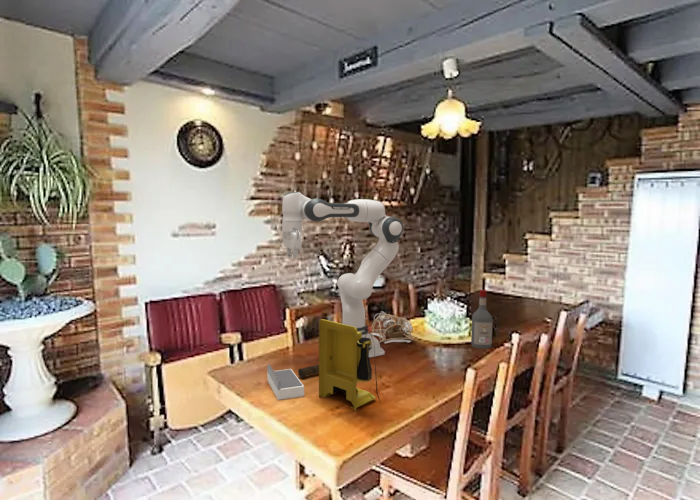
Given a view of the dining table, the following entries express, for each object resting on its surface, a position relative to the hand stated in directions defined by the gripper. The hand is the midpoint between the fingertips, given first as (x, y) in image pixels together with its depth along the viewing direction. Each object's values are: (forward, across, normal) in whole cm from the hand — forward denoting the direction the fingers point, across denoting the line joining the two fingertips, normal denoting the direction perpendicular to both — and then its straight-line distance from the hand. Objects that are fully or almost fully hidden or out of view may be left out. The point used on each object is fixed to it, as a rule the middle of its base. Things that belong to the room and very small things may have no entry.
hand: (292, 258), depth 200 cm
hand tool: (+52, -21, -2) cm, 56 cm away
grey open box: (+48, -29, +10) cm, 57 cm away
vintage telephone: (+49, -48, -10) cm, 69 cm away
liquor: (+49, -12, -98) cm, 110 cm away
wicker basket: (+49, +19, -64) cm, 83 cm away
